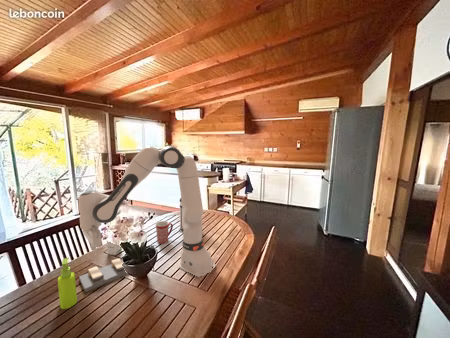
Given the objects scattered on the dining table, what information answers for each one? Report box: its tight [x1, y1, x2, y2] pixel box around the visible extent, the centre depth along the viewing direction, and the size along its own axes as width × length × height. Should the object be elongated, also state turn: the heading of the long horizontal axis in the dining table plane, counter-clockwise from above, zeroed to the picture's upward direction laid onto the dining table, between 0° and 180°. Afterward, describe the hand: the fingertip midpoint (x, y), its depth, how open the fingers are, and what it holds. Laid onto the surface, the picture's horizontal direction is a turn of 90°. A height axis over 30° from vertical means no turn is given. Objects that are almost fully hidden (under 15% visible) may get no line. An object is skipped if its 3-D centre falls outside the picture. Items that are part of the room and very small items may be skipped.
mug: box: [155, 220, 174, 244], centre depth 145 cm, size 13×9×14 cm
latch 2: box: [110, 257, 124, 272], centre depth 111 cm, size 11×4×1 cm, turn 46°
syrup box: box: [106, 240, 123, 256], centre depth 128 cm, size 6×6×14 cm
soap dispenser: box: [57, 257, 78, 310], centre depth 88 cm, size 6×7×20 cm
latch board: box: [79, 259, 128, 293], centre depth 107 cm, size 12×23×3 cm, turn 136°
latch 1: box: [87, 265, 104, 282], centre depth 103 cm, size 11×4×1 cm, turn 46°
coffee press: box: [178, 197, 183, 232], centre depth 165 cm, size 17×16×30 cm
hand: (93, 248), depth 103 cm, fingers closed
